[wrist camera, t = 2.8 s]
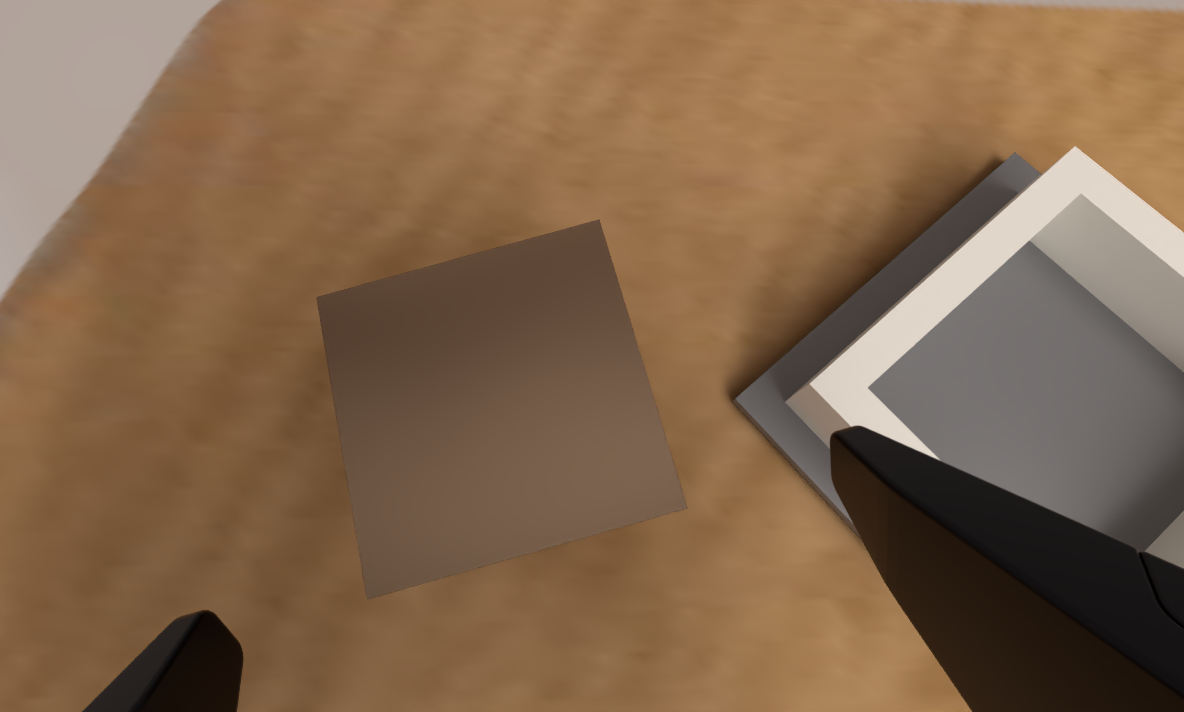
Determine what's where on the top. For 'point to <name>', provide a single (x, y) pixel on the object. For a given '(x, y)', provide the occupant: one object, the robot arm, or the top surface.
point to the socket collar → (1013, 354)
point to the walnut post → (493, 409)
